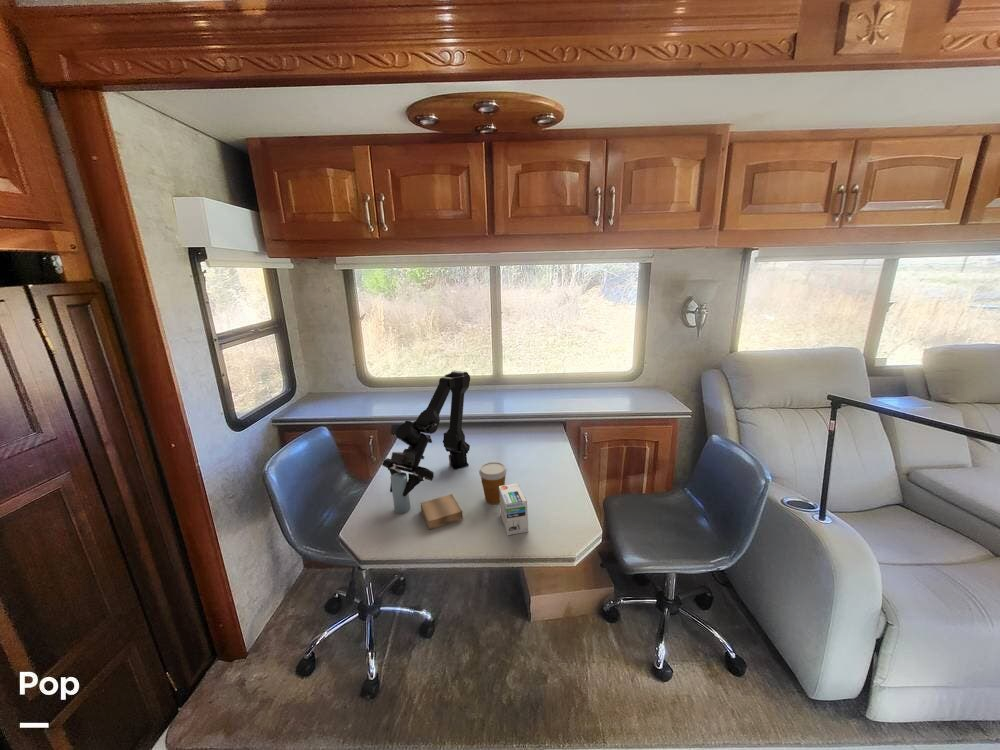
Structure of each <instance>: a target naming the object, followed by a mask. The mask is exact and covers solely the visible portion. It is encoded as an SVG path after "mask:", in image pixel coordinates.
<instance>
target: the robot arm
mask: <svg viewBox="0 0 1000 750" xmlns="http://www.w3.org/2000/svg"><path fill="white" fill-rule="evenodd" d="M470 381H471V376H470V374H469V372H467V371H461V370H452V371H450V373H448V374H444V376H441V377H440V378H439V380H438V385H437V387H436V389H435V391H434V393H433V395H432V397H431V399H430V401H429V403H428V405H427V407H426V408H425V409H424V410H423V411H422V412H421V413H420V414H419V415H418V416H417V418H416V420H414V421H413V422H412V421H411V420H405V421H404V423H402V424H400V425H399V426H398V427H397V428H396V430H395V438H396V439H398V440H400V441H401V442H403V443H404V444H406V445H407V446H408V447H407V448H404V450H402V452H401V451H395V452H392V453H391V458H387V457H386V458H385V459H383V462H382V464H381V466H383V467H384V468H386V469H387V470H388V471H389V473H390V476H391V475H393V474H395V473H398V472H402V471H403V472H405V473H406V472H407V473H408V475H407V476H408V478H407V485H406V487H405V489H404V492H403V496H406V495H407V494H408V493H410V492H411V491H412V490H413V489H414V488H416V487H417V486H418V485H419V484H420V483H422V482H424V481H425V480H426V481H431V482H432V481H433V479H434V476H435V474H434V471H432V470H431V469H429V468H427V467H424V466H419V465H420V463H421V461H422V460H424V459H425V456H424V453H425V451H426V449H427V446H428V444H429V443H430V444H432V443H433V440H432V438H431V435H432V434H435V433H436V432H437V430H438V427H439V425H440V422H441V419H440V413H441V411H442V410H443V408H444V405H445V402H446V400H447V398H448V397H449V394H450V391H451V402H450V414H449V415H450V416H449V427H448V429H447V431H446V432H444V433H443V439H442V444H443V447H444V448H445V451H446V452H449V454H448V460H449V461H448V462H449V465H450V467H451V468H452V469H453V470H458V469H462V468H465V467H468V466H469V463H468V458H467V454H469V451H470V447H471V445H470V444H469V443H467V442H466V435H465V432H464V431H463V428H462V426H463V415H464V403H465V401H464V400H465V394H466V392H467V390H468V389H469V386H470ZM389 488H390V489H389V492H390V493H392V486H391V485H390V487H389Z"/></svg>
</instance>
